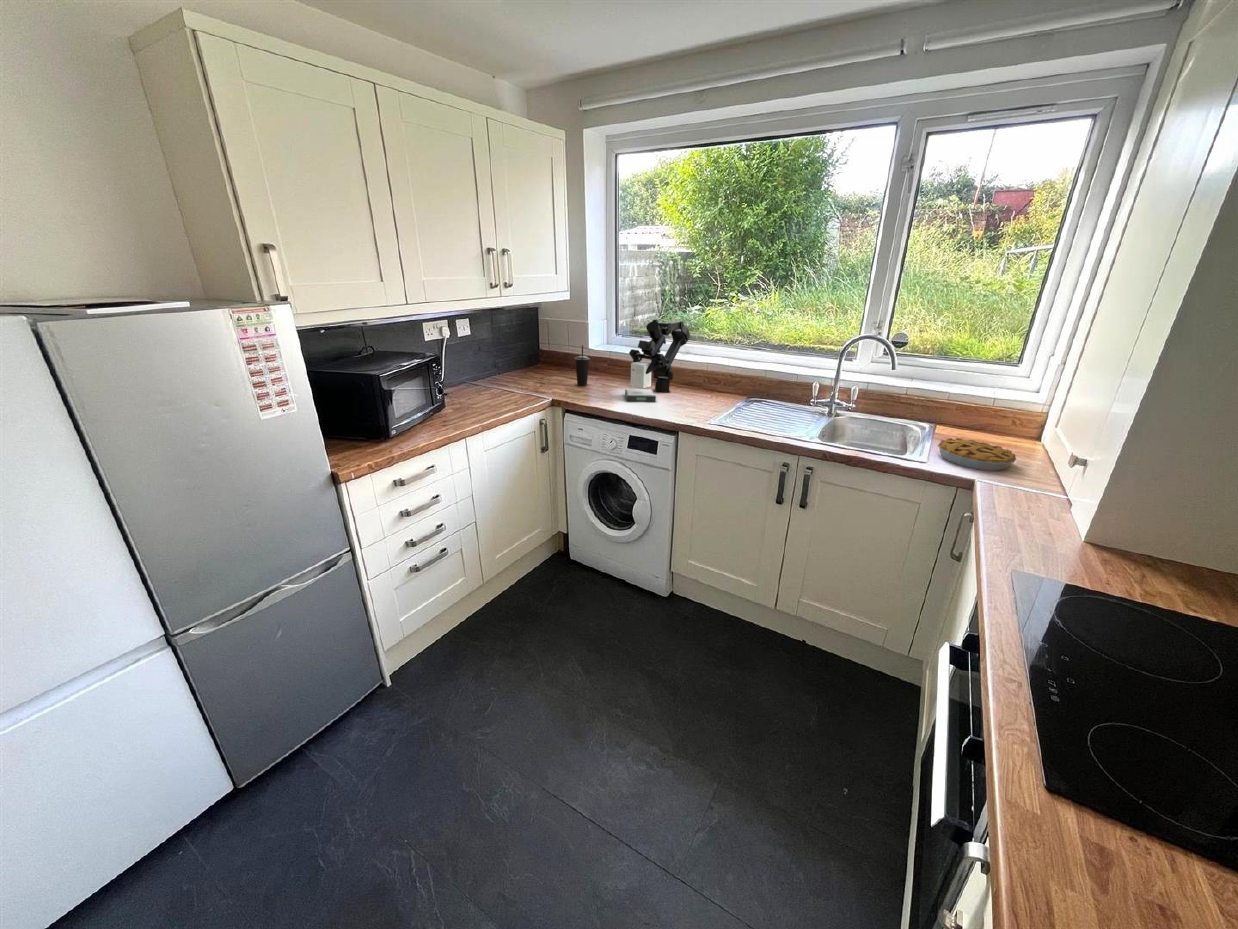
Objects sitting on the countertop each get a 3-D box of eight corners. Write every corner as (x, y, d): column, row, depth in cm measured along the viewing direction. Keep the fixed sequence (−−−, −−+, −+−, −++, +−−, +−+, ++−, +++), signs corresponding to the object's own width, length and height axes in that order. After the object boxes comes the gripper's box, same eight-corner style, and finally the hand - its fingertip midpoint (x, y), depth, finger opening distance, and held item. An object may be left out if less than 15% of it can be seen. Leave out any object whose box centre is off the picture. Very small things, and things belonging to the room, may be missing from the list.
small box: (651, 386, 230) (652, 363, 226) (643, 388, 226) (644, 365, 222) (638, 383, 235) (638, 361, 231) (630, 385, 231) (630, 362, 227)
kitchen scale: (651, 395, 239) (652, 388, 238) (655, 402, 227) (655, 395, 226) (624, 394, 238) (625, 388, 237) (627, 401, 226) (627, 394, 225)
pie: (923, 456, 169) (927, 442, 168) (952, 445, 181) (956, 432, 180) (997, 477, 153) (1002, 462, 151) (1023, 464, 165) (1028, 450, 163)
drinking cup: (589, 387, 251) (589, 346, 244) (573, 386, 251) (573, 346, 244) (590, 383, 258) (590, 344, 251) (575, 383, 258) (575, 343, 251)
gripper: (632, 331, 230) (615, 358, 227) (664, 335, 219) (647, 364, 215) (642, 346, 239) (626, 373, 235) (674, 352, 227) (658, 379, 224)
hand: (639, 372), depth 227 cm, fingers closed on small box, 8 cm apart
